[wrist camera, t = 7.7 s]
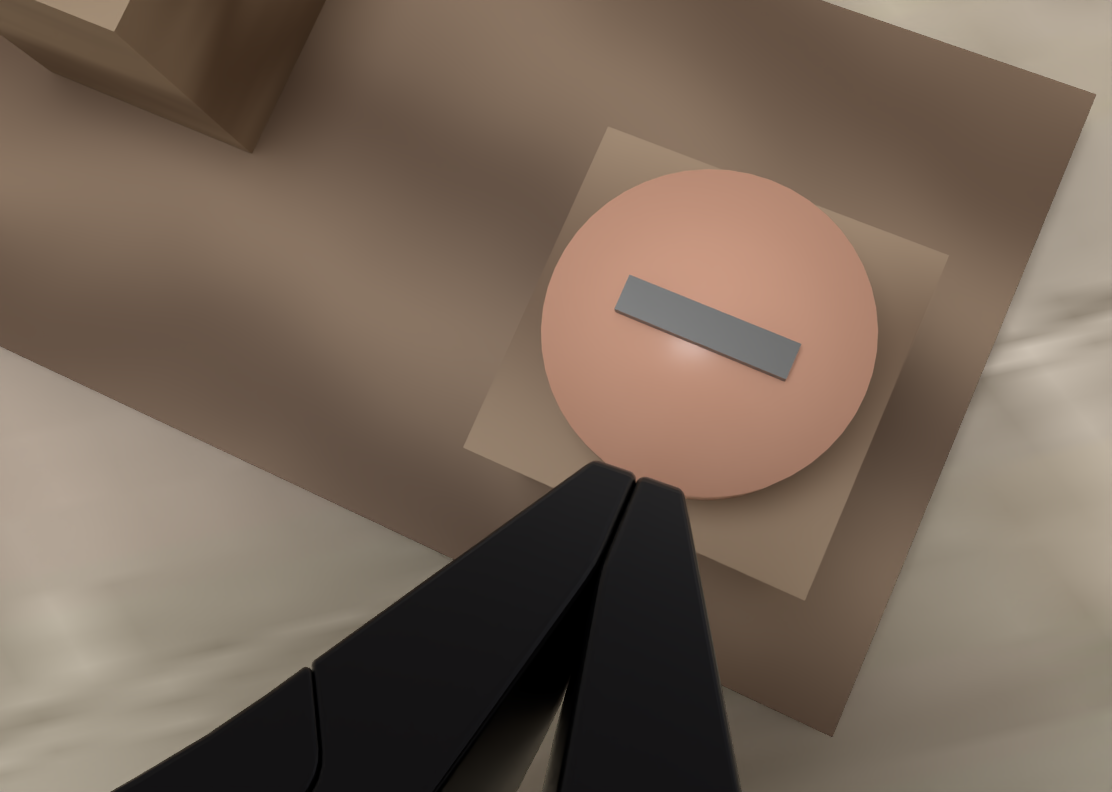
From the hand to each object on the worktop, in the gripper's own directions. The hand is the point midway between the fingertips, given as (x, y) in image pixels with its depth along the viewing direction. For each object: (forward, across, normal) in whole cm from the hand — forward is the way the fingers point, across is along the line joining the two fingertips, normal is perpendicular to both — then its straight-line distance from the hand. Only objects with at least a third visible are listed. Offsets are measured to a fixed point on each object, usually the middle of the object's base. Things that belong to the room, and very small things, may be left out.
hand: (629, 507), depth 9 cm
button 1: (+6, 0, +2) cm, 6 cm away
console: (+13, +7, +5) cm, 15 cm away
